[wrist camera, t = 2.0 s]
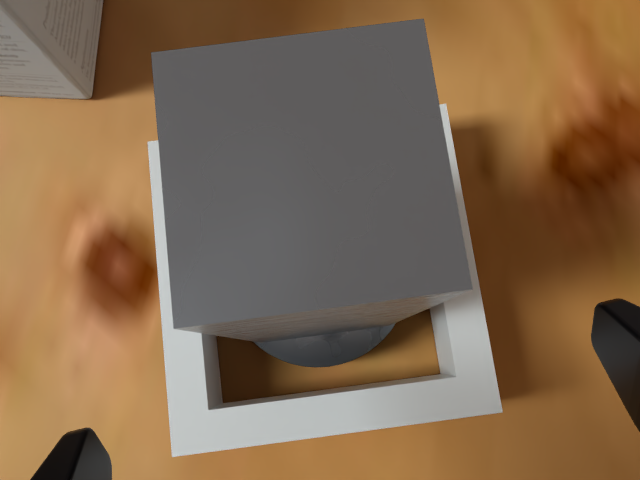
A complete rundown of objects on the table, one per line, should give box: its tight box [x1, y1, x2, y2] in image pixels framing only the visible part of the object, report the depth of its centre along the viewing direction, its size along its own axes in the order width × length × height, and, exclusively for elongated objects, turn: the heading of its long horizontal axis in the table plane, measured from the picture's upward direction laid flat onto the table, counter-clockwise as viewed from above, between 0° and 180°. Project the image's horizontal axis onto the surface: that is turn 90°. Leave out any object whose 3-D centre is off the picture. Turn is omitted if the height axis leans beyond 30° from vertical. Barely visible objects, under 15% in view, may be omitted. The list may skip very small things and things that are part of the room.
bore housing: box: [148, 104, 503, 457], centre depth 20 cm, size 10×10×2 cm
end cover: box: [151, 19, 473, 367], centre depth 14 cm, size 6×6×13 cm
